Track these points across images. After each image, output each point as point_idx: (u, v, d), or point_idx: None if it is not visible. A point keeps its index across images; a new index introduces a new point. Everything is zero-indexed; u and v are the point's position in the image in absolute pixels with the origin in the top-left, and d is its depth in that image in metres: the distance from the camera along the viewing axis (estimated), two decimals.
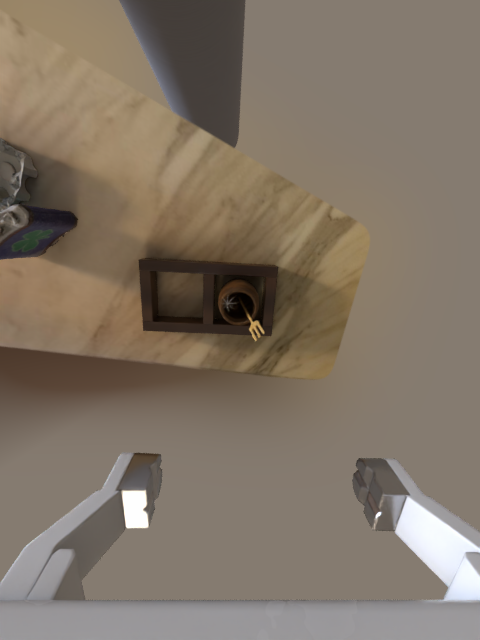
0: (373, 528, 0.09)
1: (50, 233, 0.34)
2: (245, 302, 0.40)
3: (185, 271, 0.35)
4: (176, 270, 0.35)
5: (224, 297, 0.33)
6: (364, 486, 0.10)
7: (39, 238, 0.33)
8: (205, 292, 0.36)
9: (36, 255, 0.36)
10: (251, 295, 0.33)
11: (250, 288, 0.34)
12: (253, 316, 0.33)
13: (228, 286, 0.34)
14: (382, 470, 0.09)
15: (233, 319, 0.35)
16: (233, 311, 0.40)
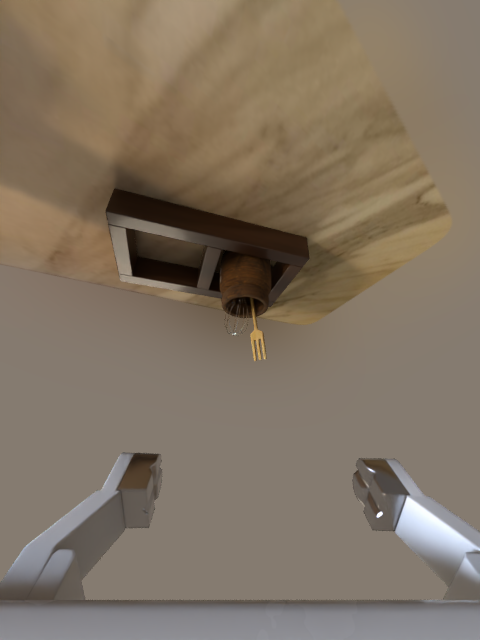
0: (373, 528, 0.09)
1: None
2: None
3: (180, 238, 0.24)
4: (167, 235, 0.24)
5: (230, 298, 0.26)
6: (364, 487, 0.10)
7: None
8: (205, 263, 0.27)
9: None
10: (264, 301, 0.26)
11: (265, 283, 0.27)
12: (258, 315, 0.29)
13: (238, 275, 0.26)
14: (382, 470, 0.09)
15: (234, 305, 0.29)
16: None
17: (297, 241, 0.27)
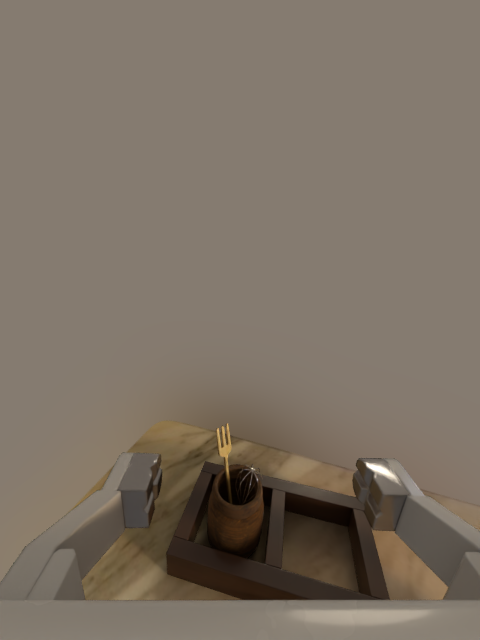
0: (373, 528, 0.09)
1: None
2: None
3: (311, 580, 0.22)
4: (326, 586, 0.22)
5: (254, 501, 0.24)
6: (364, 486, 0.10)
7: None
8: (280, 535, 0.25)
9: None
10: (218, 496, 0.24)
11: (216, 517, 0.24)
12: (222, 470, 0.27)
13: (246, 528, 0.24)
14: (382, 470, 0.09)
15: (246, 477, 0.28)
16: None
17: (178, 571, 0.23)
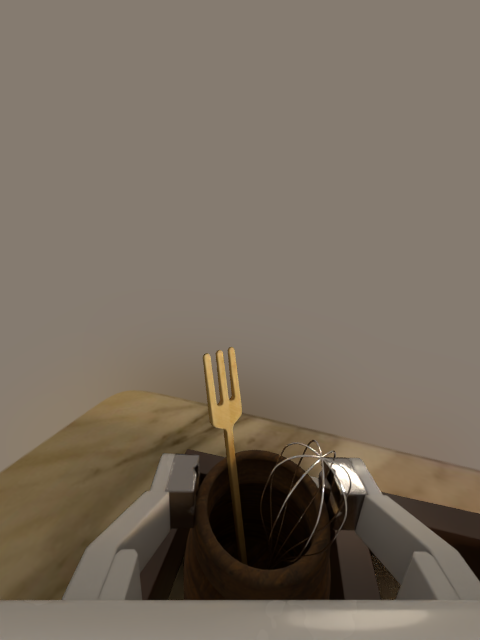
0: (333, 528, 0.09)
1: None
2: None
3: None
4: None
5: (317, 554, 0.08)
6: (327, 486, 0.10)
7: None
8: None
9: None
10: (209, 539, 0.08)
11: (204, 599, 0.08)
12: (219, 465, 0.11)
13: None
14: None
15: (278, 481, 0.12)
16: (268, 547, 0.14)
17: None
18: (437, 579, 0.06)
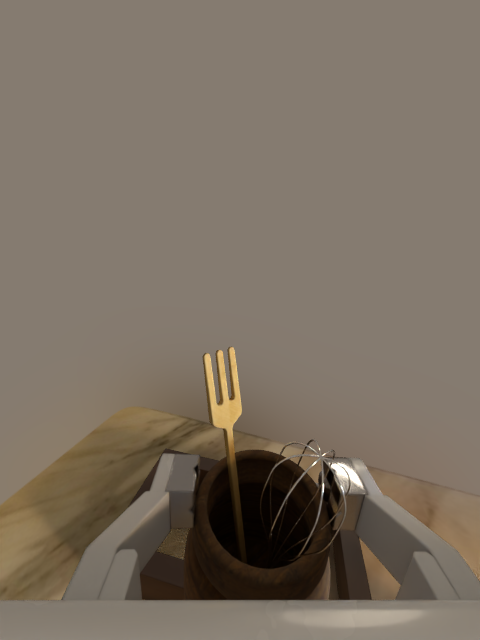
0: (333, 528, 0.09)
1: None
2: None
3: None
4: None
5: (317, 553, 0.08)
6: (327, 486, 0.10)
7: None
8: None
9: None
10: (209, 539, 0.08)
11: (203, 598, 0.08)
12: (219, 464, 0.11)
13: None
14: None
15: (278, 481, 0.12)
16: (267, 547, 0.14)
17: None
18: (437, 579, 0.06)
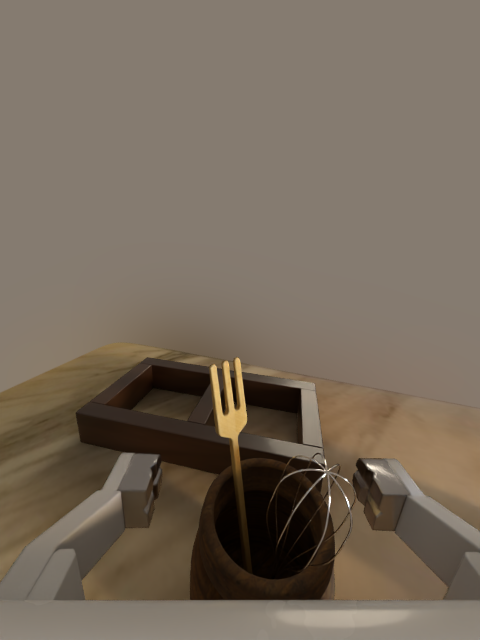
0: (373, 528, 0.09)
1: None
2: None
3: None
4: (252, 436, 0.19)
5: (322, 564, 0.08)
6: (364, 487, 0.10)
7: None
8: (212, 403, 0.22)
9: None
10: (216, 549, 0.08)
11: None
12: (225, 473, 0.11)
13: None
14: (382, 470, 0.09)
15: (283, 489, 0.12)
16: (272, 553, 0.14)
17: (91, 435, 0.21)
18: None
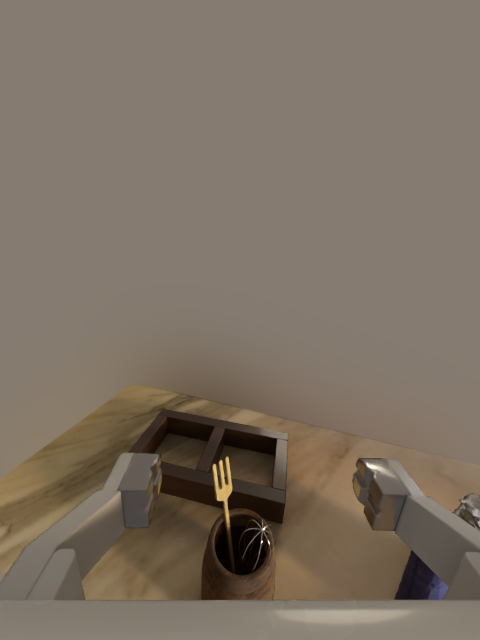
0: (373, 528, 0.09)
1: None
2: None
3: None
4: (239, 482, 0.28)
5: (264, 568, 0.18)
6: (364, 486, 0.10)
7: None
8: (212, 453, 0.32)
9: None
10: (215, 561, 0.18)
11: (212, 588, 0.18)
12: (220, 518, 0.21)
13: None
14: (382, 470, 0.09)
15: (252, 525, 0.21)
16: (248, 561, 0.23)
17: None
18: None
